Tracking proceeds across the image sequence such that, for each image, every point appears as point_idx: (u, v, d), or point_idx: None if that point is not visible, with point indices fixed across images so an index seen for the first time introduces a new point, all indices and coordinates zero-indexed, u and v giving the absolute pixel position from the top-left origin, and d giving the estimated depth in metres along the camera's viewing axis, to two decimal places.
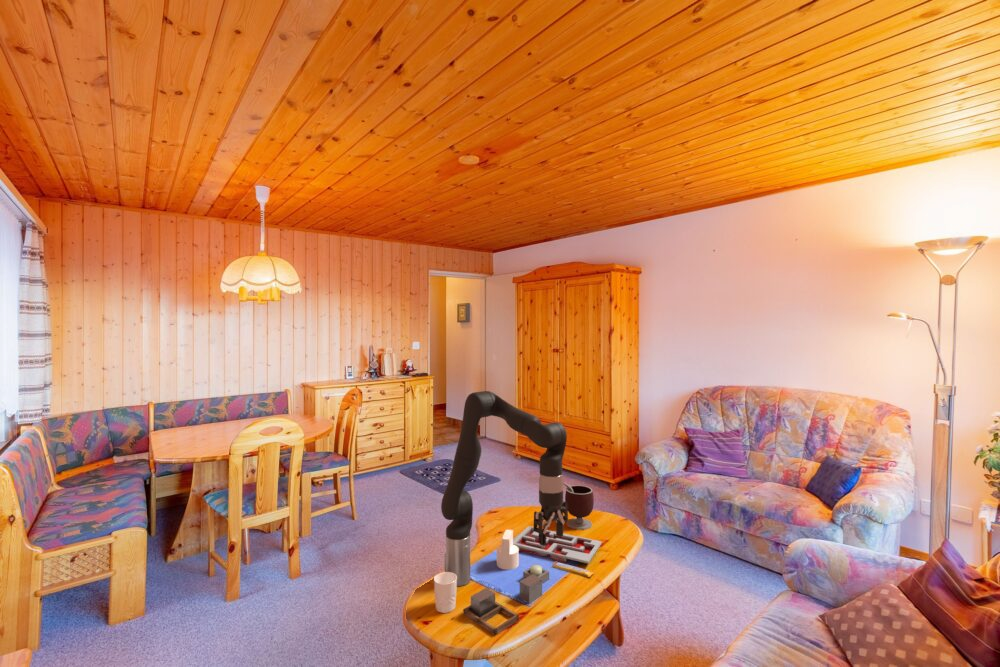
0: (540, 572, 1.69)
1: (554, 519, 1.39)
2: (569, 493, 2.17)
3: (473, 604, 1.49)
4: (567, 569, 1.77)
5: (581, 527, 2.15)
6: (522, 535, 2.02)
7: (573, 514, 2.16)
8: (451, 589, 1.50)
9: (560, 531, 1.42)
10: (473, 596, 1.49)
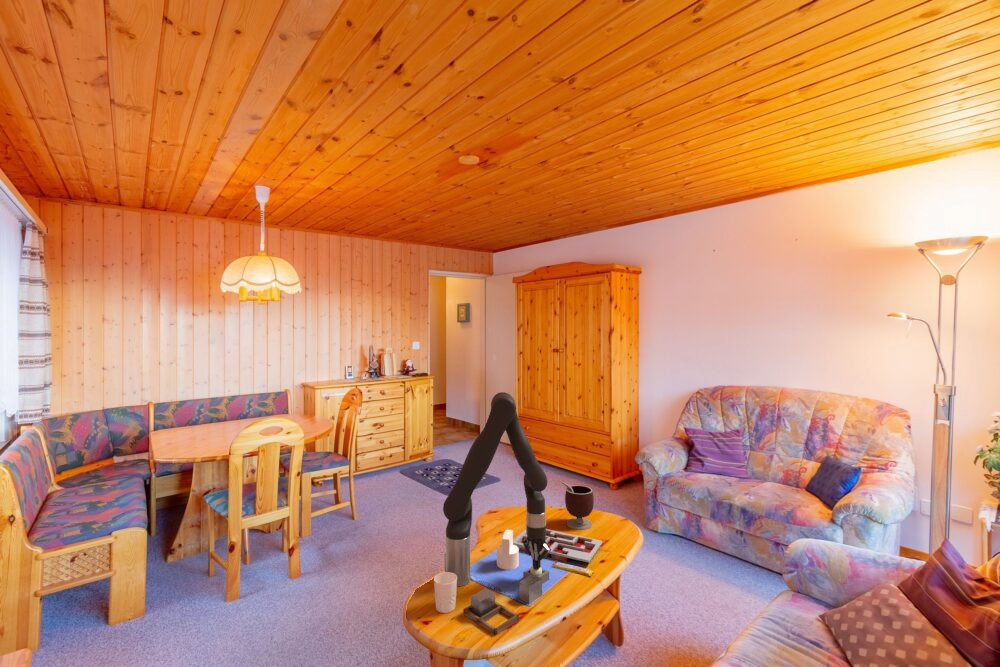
0: (540, 573, 1.69)
1: None
2: (569, 493, 2.17)
3: (473, 604, 1.49)
4: (567, 568, 1.77)
5: (581, 527, 2.15)
6: (523, 534, 2.03)
7: (573, 514, 2.16)
8: (451, 589, 1.50)
9: None
10: (473, 596, 1.49)
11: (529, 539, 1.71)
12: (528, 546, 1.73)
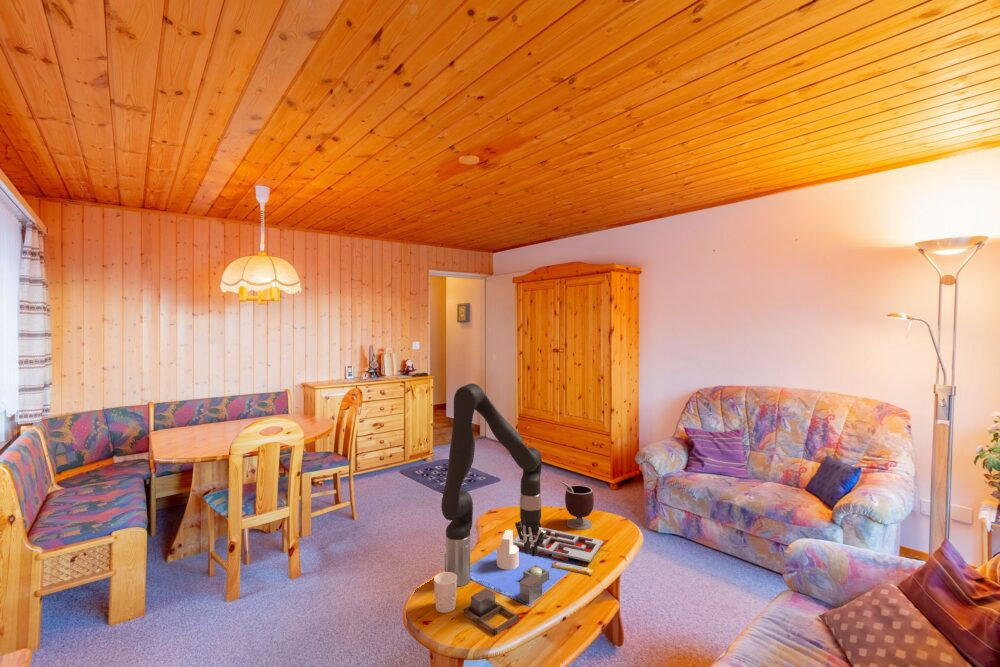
0: None
1: None
2: (569, 493, 2.17)
3: (473, 604, 1.49)
4: (567, 568, 1.77)
5: (581, 527, 2.15)
6: None
7: (573, 514, 2.16)
8: (451, 589, 1.50)
9: (529, 548, 1.61)
10: (473, 596, 1.49)
11: (523, 523, 1.60)
12: (520, 529, 1.62)
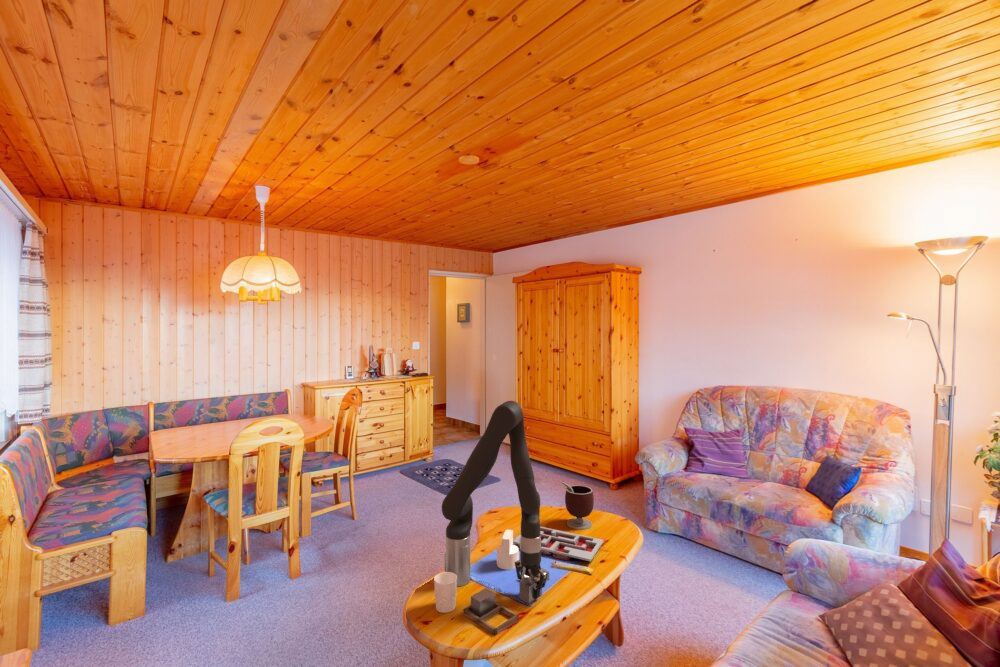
0: None
1: None
2: (569, 493, 2.17)
3: (473, 604, 1.49)
4: (568, 568, 1.78)
5: (581, 527, 2.15)
6: None
7: (573, 514, 2.16)
8: (451, 589, 1.50)
9: None
10: (473, 596, 1.49)
11: (523, 564, 1.60)
12: (519, 569, 1.62)
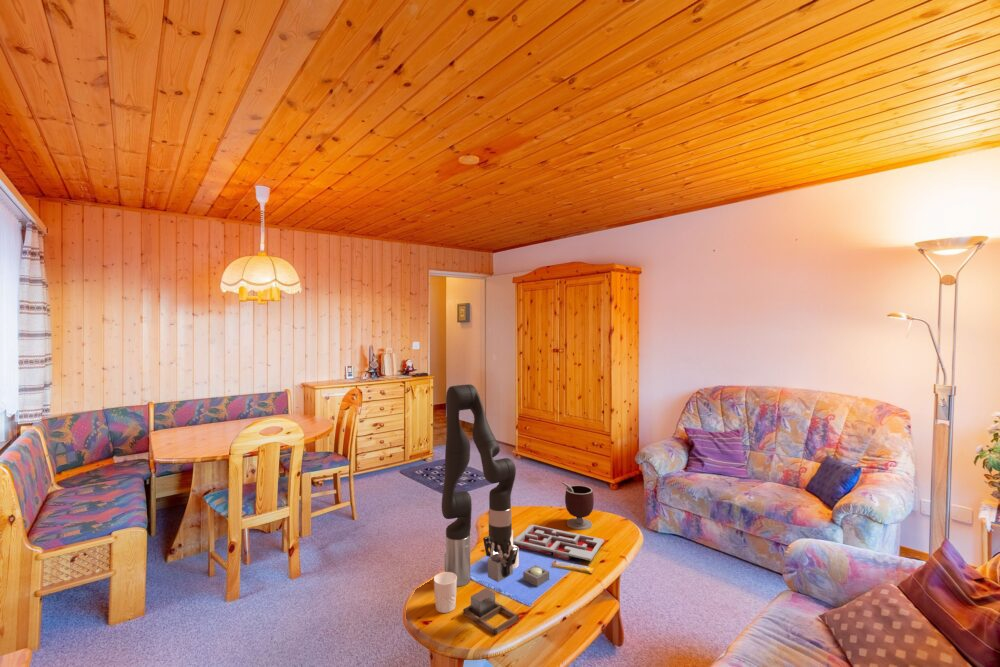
0: None
1: None
2: (569, 493, 2.17)
3: (473, 604, 1.49)
4: (568, 567, 1.78)
5: (581, 527, 2.15)
6: (525, 533, 2.04)
7: (573, 514, 2.16)
8: (451, 589, 1.50)
9: None
10: (473, 596, 1.49)
11: (492, 540, 1.47)
12: (488, 546, 1.49)
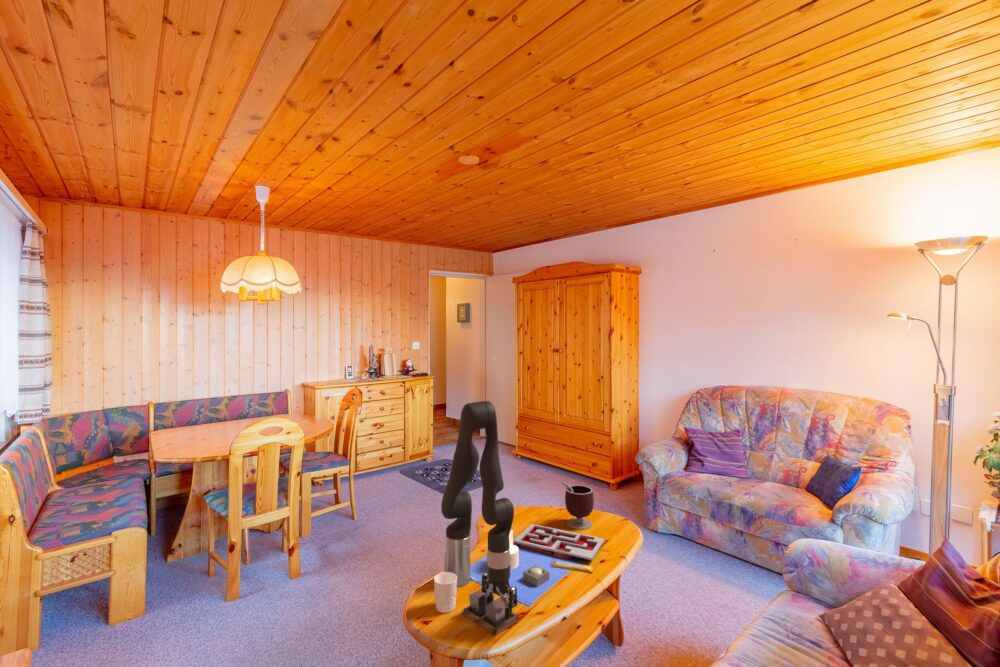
0: None
1: None
2: (569, 493, 2.17)
3: (472, 602, 1.49)
4: (568, 567, 1.78)
5: (581, 527, 2.15)
6: (526, 533, 2.05)
7: (573, 514, 2.16)
8: (451, 589, 1.50)
9: None
10: (471, 594, 1.50)
11: (491, 581, 1.46)
12: (485, 583, 1.49)
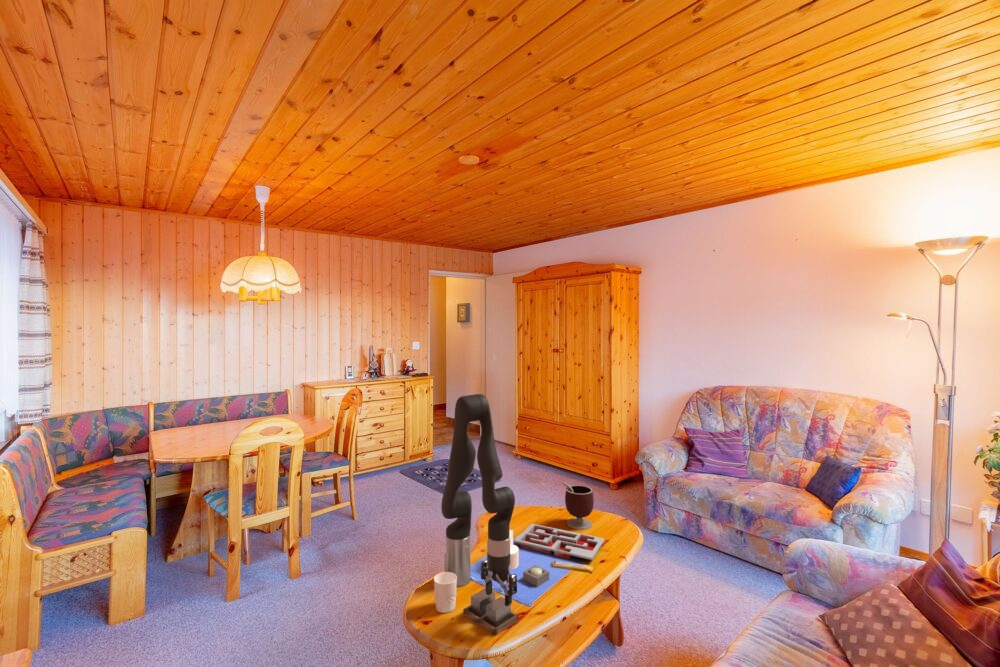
0: None
1: None
2: (569, 493, 2.17)
3: (473, 604, 1.49)
4: (568, 567, 1.78)
5: (581, 527, 2.15)
6: (526, 532, 2.05)
7: (573, 514, 2.16)
8: (451, 589, 1.50)
9: (491, 588, 1.49)
10: (473, 596, 1.49)
11: (490, 568, 1.47)
12: (485, 570, 1.49)
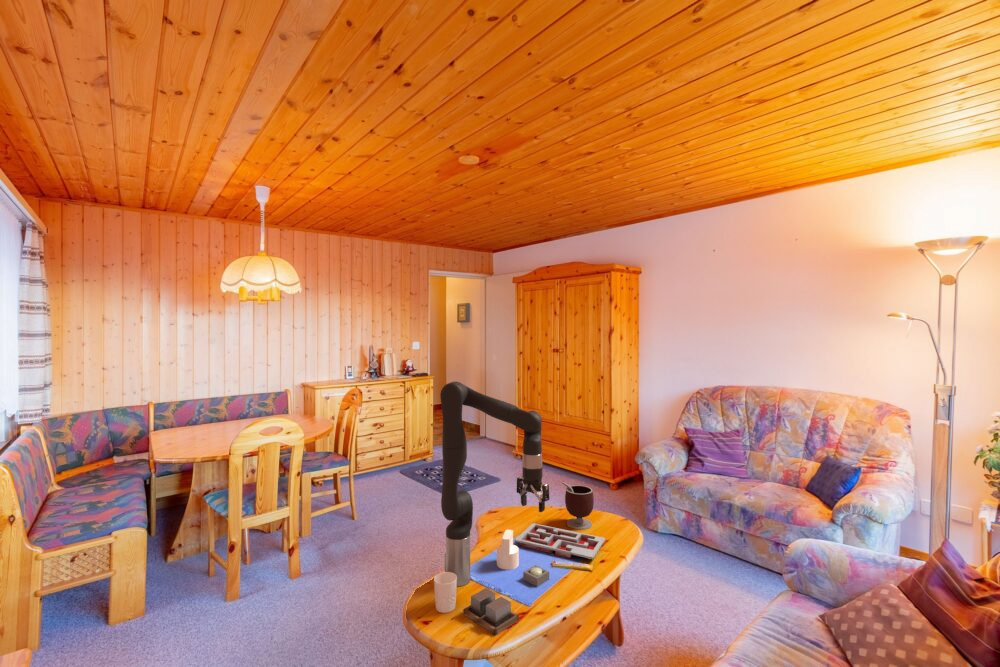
0: None
1: None
2: (569, 493, 2.17)
3: (473, 604, 1.49)
4: (568, 566, 1.79)
5: (581, 527, 2.15)
6: (527, 532, 2.06)
7: (573, 514, 2.16)
8: (451, 589, 1.50)
9: (525, 500, 1.71)
10: (473, 596, 1.49)
11: (525, 482, 1.69)
12: (520, 485, 1.72)
